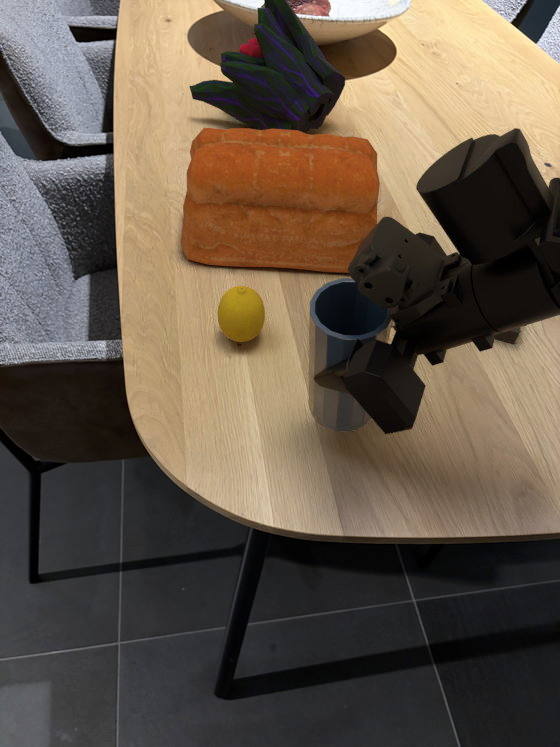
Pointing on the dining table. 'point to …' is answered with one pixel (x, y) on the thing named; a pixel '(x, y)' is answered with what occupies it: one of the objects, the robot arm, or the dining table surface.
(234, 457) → the dining table surface
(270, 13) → the decorative plant
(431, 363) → the robot arm
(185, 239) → the bread
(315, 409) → the tumbler
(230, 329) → the lemon
